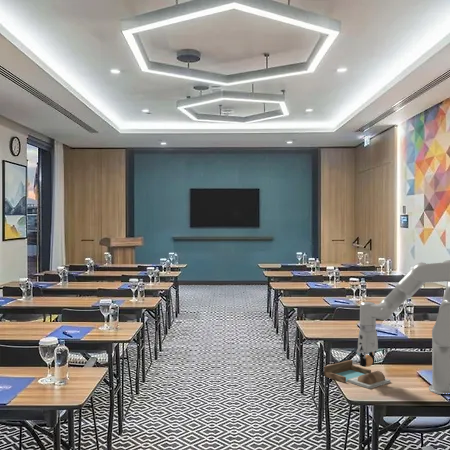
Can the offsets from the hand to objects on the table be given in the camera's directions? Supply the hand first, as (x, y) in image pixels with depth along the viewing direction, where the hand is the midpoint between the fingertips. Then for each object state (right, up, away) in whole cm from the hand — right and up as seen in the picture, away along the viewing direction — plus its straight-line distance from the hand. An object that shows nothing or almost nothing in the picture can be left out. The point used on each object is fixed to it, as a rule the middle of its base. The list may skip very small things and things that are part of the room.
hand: (367, 364), depth 245 cm
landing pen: (-7, -8, +10) cm, 15 cm away
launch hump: (+2, -11, -2) cm, 11 cm away
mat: (-7, -8, +10) cm, 14 cm away
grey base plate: (+1, -8, -1) cm, 8 cm away
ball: (0, -1, 0) cm, 1 cm away
